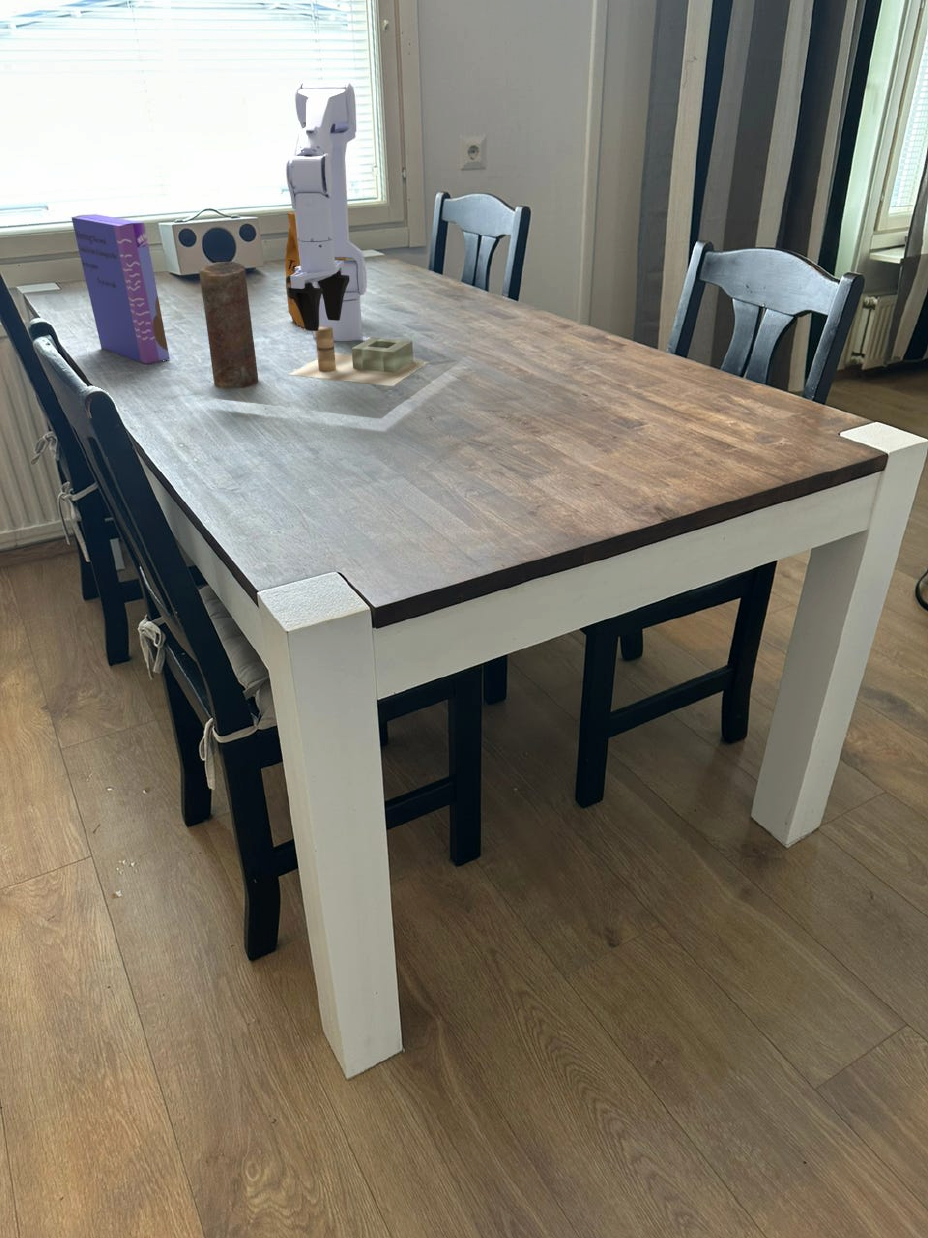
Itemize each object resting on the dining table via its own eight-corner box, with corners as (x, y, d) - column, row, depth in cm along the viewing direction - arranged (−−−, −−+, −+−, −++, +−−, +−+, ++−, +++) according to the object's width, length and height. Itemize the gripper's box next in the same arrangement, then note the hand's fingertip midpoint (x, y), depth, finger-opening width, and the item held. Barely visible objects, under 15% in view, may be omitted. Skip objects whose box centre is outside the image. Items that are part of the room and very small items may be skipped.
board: (288, 382, 151) (285, 353, 148) (330, 360, 163) (328, 333, 160) (393, 394, 145) (391, 364, 142) (428, 370, 156) (427, 342, 154)
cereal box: (169, 359, 164) (143, 221, 152) (147, 364, 162) (118, 224, 149) (123, 343, 175) (95, 213, 162) (101, 348, 172) (71, 215, 159)
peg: (315, 370, 152) (311, 329, 148) (324, 366, 154) (320, 325, 150) (330, 372, 151) (327, 331, 147) (339, 367, 153) (335, 327, 149)
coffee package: (285, 320, 190) (273, 209, 179) (339, 313, 195) (330, 205, 183) (299, 329, 183) (287, 215, 171) (355, 322, 188) (346, 211, 176)
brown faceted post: (269, 386, 150) (252, 262, 139) (246, 399, 144) (227, 270, 133) (230, 382, 152) (211, 260, 141) (206, 394, 146) (185, 268, 135)
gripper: (315, 231, 148) (323, 313, 155) (270, 244, 137) (280, 332, 144) (352, 233, 146) (358, 316, 153) (309, 246, 135) (318, 336, 142)
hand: (323, 324), depth 148 cm, fingers open, 7 cm apart
